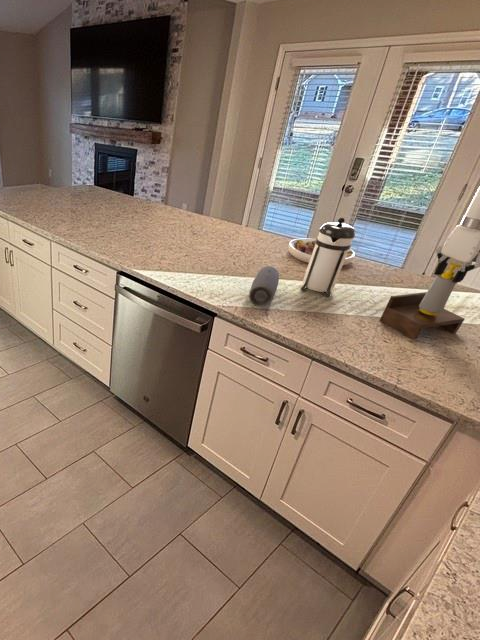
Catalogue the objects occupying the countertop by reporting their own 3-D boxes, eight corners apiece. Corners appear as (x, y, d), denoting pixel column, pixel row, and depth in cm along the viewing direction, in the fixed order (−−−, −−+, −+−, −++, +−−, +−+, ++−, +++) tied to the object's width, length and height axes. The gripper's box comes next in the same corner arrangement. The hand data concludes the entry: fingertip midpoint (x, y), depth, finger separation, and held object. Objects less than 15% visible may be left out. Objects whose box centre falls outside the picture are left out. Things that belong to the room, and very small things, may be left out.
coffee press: (345, 297, 169) (376, 223, 152) (310, 298, 166) (337, 223, 150) (320, 279, 183) (345, 210, 166) (287, 281, 180) (309, 211, 164)
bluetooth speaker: (253, 285, 175) (259, 262, 169) (276, 290, 172) (283, 267, 166) (244, 306, 158) (250, 282, 152) (269, 312, 154) (277, 287, 149)
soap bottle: (441, 318, 141) (469, 269, 131) (417, 312, 144) (442, 264, 134) (440, 311, 146) (467, 262, 136) (416, 305, 149) (441, 258, 139)
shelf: (456, 333, 146) (471, 308, 141) (413, 339, 141) (427, 314, 136) (420, 315, 157) (433, 291, 152) (379, 320, 152) (391, 295, 147)
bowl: (302, 243, 225) (306, 229, 220) (360, 259, 207) (366, 244, 202) (275, 255, 207) (280, 240, 203) (336, 274, 189) (343, 257, 185)
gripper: (514, 231, 122) (481, 287, 132) (458, 215, 136) (431, 267, 146) (496, 232, 120) (464, 289, 130) (441, 216, 134) (415, 269, 144)
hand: (447, 277), depth 138 cm, fingers closed on soap bottle, 5 cm apart
